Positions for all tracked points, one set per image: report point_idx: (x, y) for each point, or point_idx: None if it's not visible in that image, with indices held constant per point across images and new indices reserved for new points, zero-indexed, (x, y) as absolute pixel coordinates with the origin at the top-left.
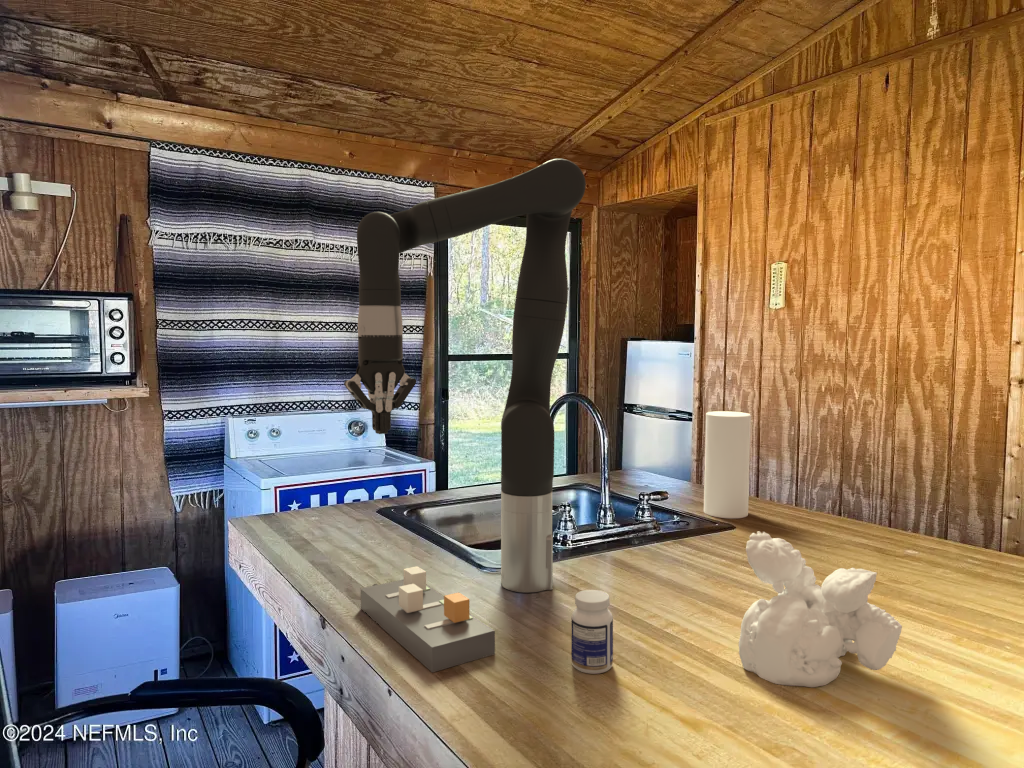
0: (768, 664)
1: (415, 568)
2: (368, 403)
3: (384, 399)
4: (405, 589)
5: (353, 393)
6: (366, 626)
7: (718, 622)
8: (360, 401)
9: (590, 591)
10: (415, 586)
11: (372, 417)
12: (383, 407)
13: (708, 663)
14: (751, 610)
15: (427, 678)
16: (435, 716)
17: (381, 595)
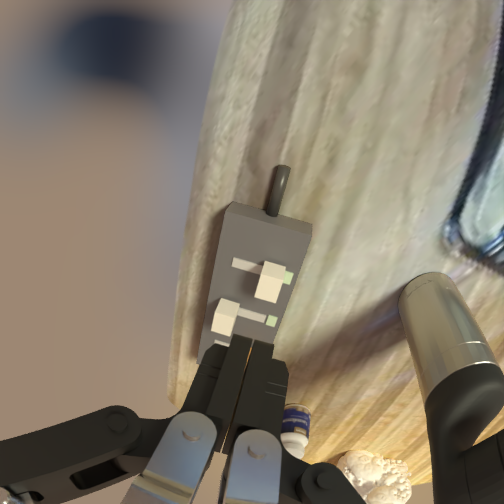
0: (339, 465)
1: (274, 284)
2: (116, 467)
3: (250, 500)
4: (215, 322)
5: (20, 457)
6: (209, 246)
7: (410, 428)
8: (81, 437)
9: (297, 452)
10: (230, 325)
11: (188, 392)
12: (224, 468)
13: (343, 442)
14: (359, 477)
15: (194, 350)
16: (173, 375)
17: (231, 251)
